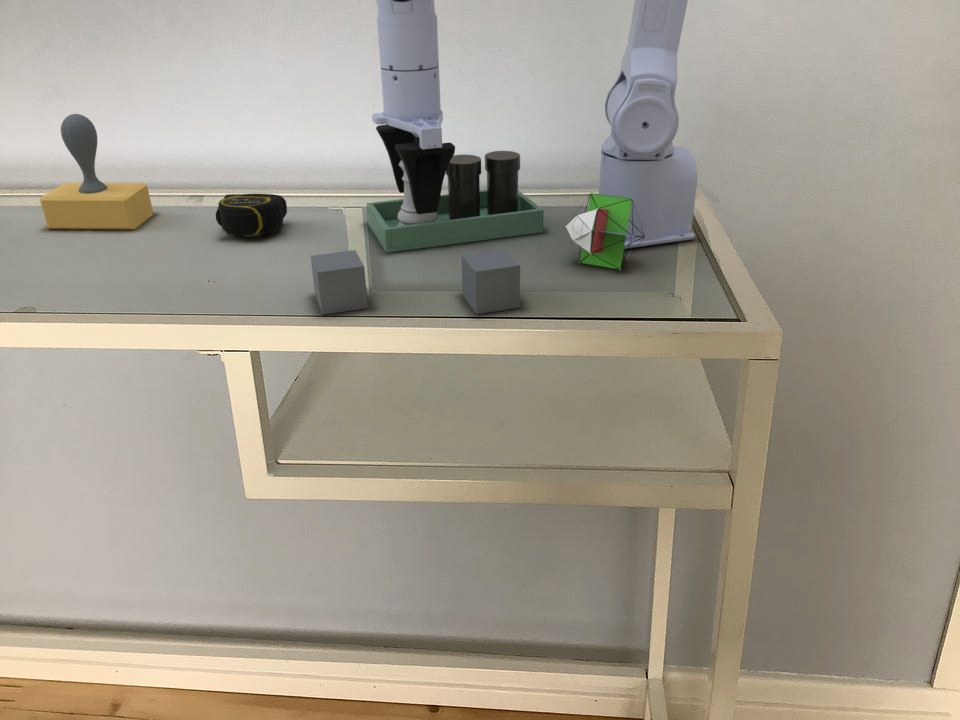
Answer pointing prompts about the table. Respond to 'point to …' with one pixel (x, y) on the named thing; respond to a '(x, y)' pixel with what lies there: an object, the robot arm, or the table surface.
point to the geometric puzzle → (603, 230)
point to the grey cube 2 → (491, 281)
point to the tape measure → (251, 213)
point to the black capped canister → (502, 181)
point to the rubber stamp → (93, 189)
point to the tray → (451, 224)
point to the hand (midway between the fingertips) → (417, 201)
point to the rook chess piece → (411, 207)
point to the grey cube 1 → (339, 282)
